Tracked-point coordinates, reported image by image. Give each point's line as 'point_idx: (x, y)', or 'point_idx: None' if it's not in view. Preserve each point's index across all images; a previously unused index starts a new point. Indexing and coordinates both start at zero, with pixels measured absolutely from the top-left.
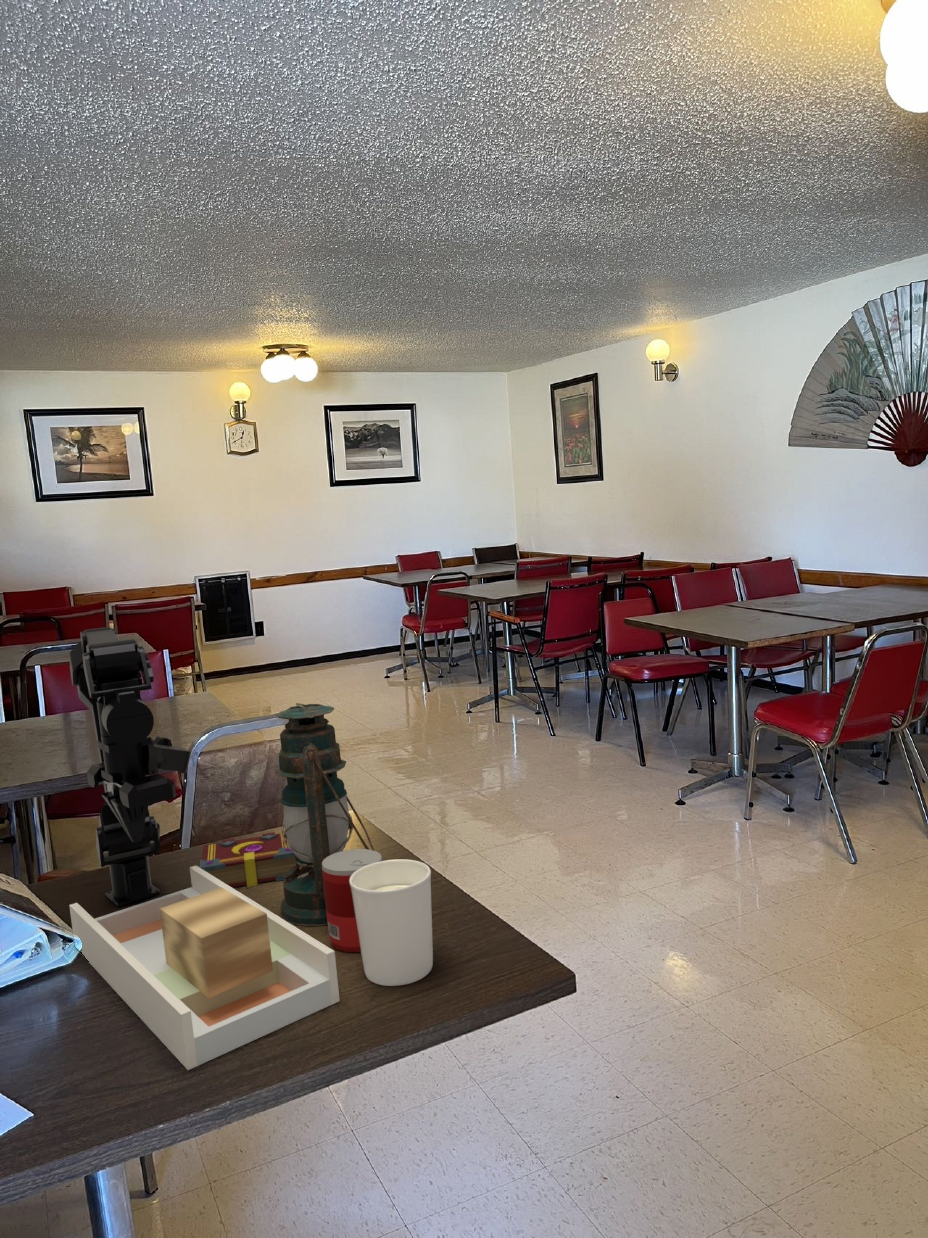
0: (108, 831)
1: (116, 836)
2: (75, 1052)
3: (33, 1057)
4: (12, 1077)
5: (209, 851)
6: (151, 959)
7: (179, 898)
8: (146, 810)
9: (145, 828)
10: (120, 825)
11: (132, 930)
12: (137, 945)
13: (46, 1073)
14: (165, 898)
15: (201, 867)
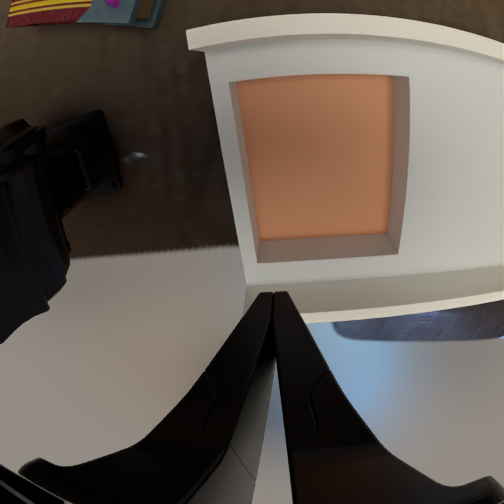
0: (45, 299)
1: (47, 269)
2: (497, 304)
3: (471, 328)
4: (478, 339)
5: (39, 8)
6: (485, 234)
7: (231, 87)
8: (357, 416)
9: (18, 192)
10: (25, 276)
11: (260, 188)
12: (429, 236)
13: (497, 322)
14: (235, 123)
15: (128, 18)
